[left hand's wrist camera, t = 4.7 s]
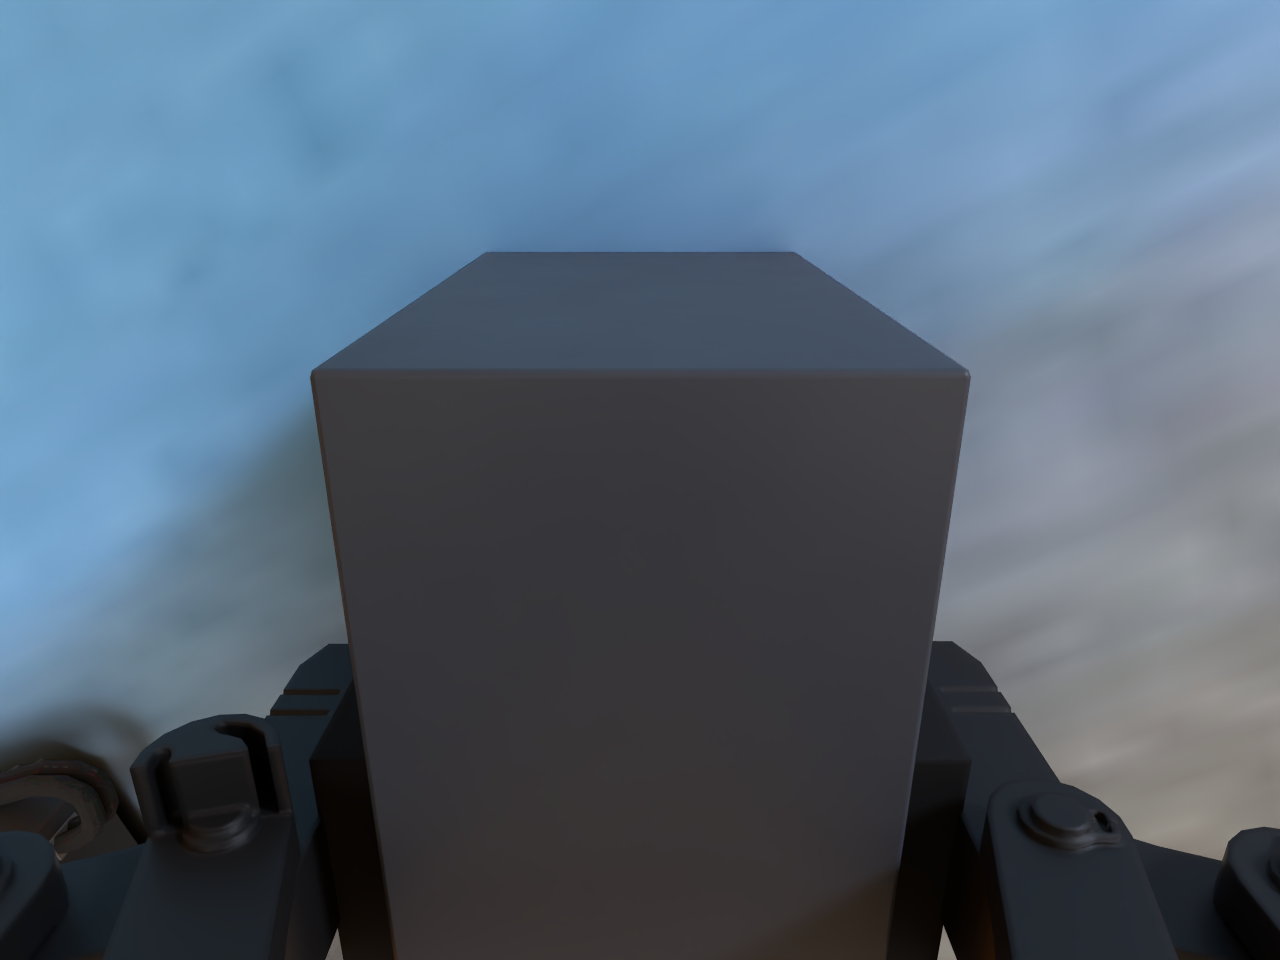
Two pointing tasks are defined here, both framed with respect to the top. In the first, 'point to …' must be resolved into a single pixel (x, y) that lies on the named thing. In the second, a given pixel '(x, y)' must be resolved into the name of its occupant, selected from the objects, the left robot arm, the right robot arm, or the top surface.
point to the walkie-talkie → (64, 807)
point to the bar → (640, 602)
